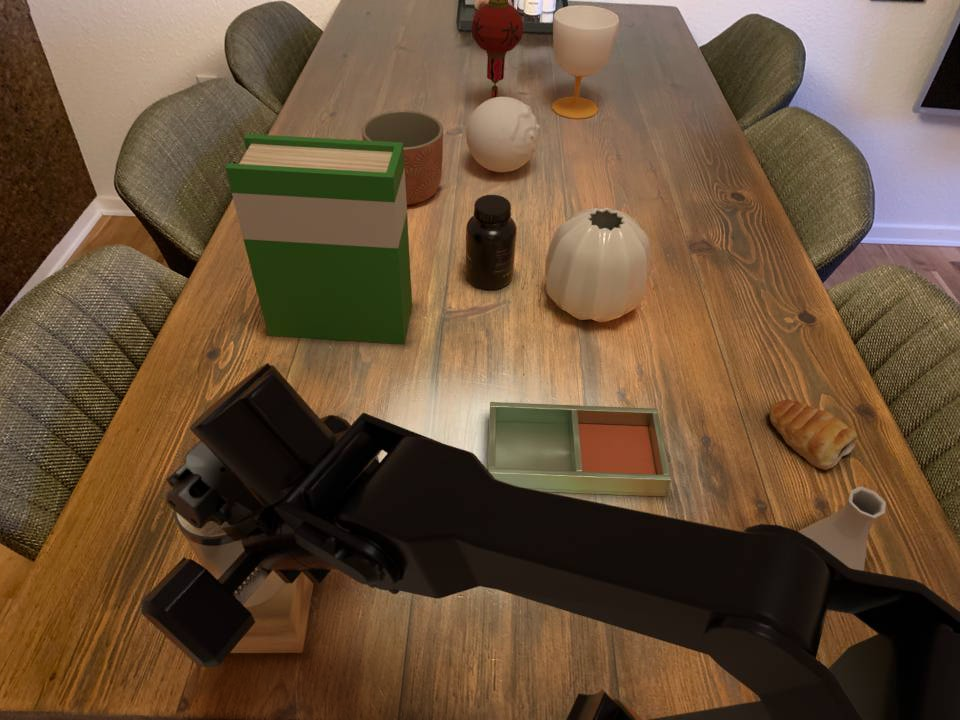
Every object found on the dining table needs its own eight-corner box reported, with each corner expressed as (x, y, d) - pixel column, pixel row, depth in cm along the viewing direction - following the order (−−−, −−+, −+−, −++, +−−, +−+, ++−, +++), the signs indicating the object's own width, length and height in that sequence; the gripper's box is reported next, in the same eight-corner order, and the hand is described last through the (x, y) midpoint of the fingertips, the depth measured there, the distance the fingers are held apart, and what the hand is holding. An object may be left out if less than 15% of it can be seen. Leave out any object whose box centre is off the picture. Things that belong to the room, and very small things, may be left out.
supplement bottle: (455, 276, 101) (455, 203, 92) (487, 255, 104) (490, 183, 96) (490, 298, 97) (494, 225, 89) (523, 276, 101) (529, 203, 93)
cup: (564, 89, 144) (574, 0, 132) (615, 106, 140) (631, 15, 128) (533, 110, 137) (541, 18, 125) (585, 128, 133) (599, 34, 121)
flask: (809, 513, 74) (847, 455, 67) (877, 559, 71) (924, 502, 64) (775, 557, 71) (810, 500, 63) (844, 607, 67) (890, 553, 60)
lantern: (485, 124, 133) (491, -55, 112) (460, 104, 139) (462, -71, 117) (527, 114, 136) (541, -62, 115) (502, 94, 142) (510, -77, 121)
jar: (263, 620, 57) (233, 551, 50) (194, 594, 59) (154, 522, 51) (304, 552, 62) (282, 478, 54) (238, 528, 63) (208, 453, 56)
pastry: (753, 426, 82) (763, 404, 80) (785, 399, 86) (795, 377, 83) (826, 477, 78) (840, 456, 75) (857, 446, 81) (871, 425, 78)
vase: (524, 283, 100) (532, 201, 90) (610, 261, 104) (625, 180, 95) (571, 346, 91) (585, 263, 82) (662, 320, 95) (685, 237, 86)
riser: (302, 653, 63) (289, 617, 58) (211, 653, 62) (190, 618, 57) (316, 569, 68) (305, 531, 63) (232, 570, 68) (214, 531, 63)
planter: (398, 221, 110) (393, 157, 102) (352, 187, 116) (345, 125, 109) (459, 194, 116) (459, 131, 108) (413, 163, 122) (410, 102, 114)
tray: (665, 496, 75) (671, 480, 73) (487, 489, 75) (488, 472, 73) (652, 425, 82) (657, 408, 80) (489, 418, 82) (490, 401, 80)
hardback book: (267, 335, 91) (225, 167, 74) (283, 298, 96) (246, 133, 79) (404, 344, 91) (393, 177, 74) (412, 306, 96) (403, 142, 79)
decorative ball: (522, 192, 117) (527, 123, 108) (455, 176, 120) (454, 108, 111) (544, 158, 125) (551, 92, 116) (481, 144, 127) (483, 79, 119)
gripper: (333, 339, 49) (245, 386, 60) (109, 548, 37) (53, 556, 49) (431, 457, 52) (329, 479, 63) (253, 684, 40) (168, 661, 52)
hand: (231, 535), depth 57 cm, fingers open, 9 cm apart
